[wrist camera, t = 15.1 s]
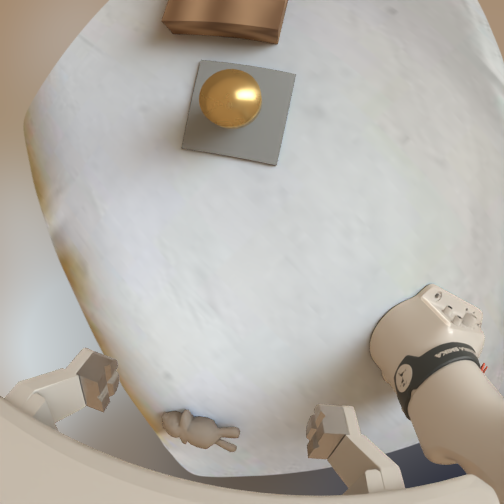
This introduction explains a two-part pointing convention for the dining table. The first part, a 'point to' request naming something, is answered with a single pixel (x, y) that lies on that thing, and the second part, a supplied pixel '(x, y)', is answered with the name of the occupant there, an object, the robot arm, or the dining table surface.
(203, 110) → the brass knob
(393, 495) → the robot arm
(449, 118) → the dining table surface
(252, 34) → the walnut block
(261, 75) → the rubber mat
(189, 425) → the bunny figurine
